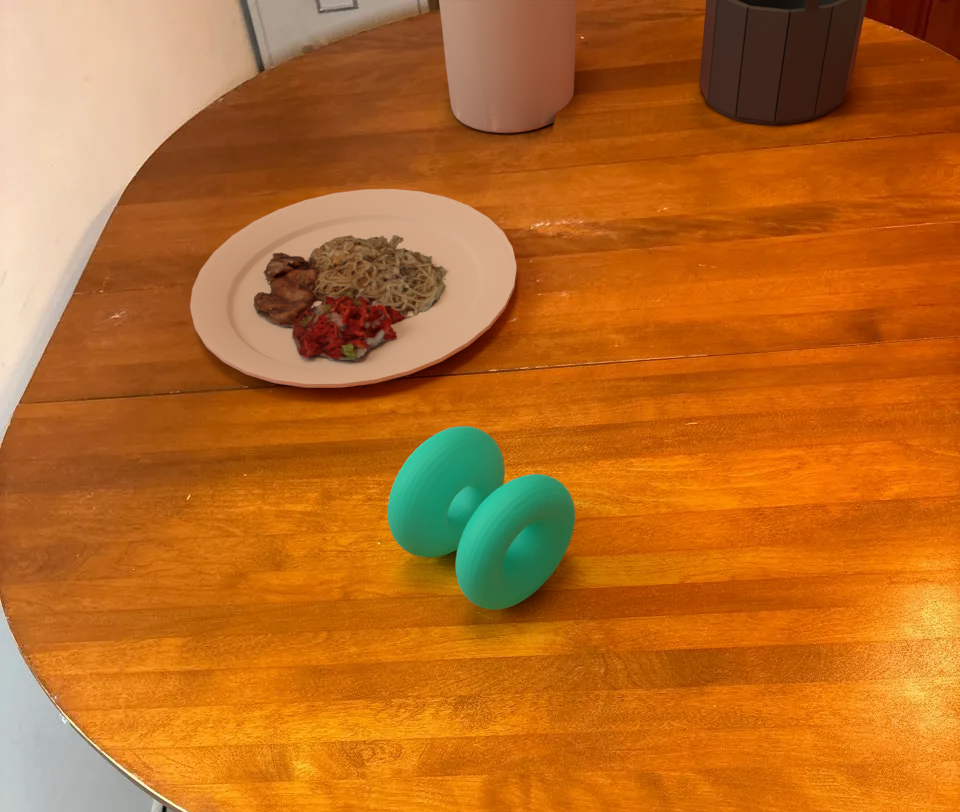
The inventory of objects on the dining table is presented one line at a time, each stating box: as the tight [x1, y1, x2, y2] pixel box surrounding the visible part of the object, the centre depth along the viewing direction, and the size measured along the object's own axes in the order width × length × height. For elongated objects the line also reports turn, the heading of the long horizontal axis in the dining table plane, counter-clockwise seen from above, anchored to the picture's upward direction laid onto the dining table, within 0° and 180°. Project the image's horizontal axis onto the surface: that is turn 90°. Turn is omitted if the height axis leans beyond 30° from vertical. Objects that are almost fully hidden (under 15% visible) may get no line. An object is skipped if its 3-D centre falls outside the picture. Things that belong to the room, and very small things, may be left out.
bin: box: [698, 0, 868, 126], centre depth 107 cm, size 15×15×14 cm
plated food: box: [189, 188, 518, 389], centre depth 97 cm, size 30×30×3 cm
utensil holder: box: [438, 0, 577, 134], centre depth 111 cm, size 15×15×18 cm
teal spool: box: [387, 425, 576, 611], centre depth 73 cm, size 10×10×10 cm
